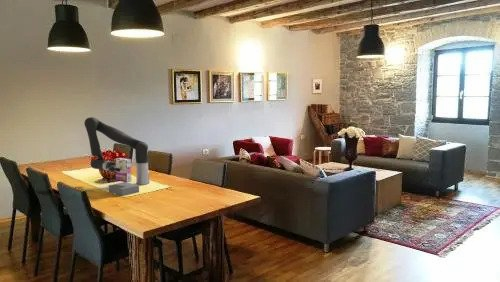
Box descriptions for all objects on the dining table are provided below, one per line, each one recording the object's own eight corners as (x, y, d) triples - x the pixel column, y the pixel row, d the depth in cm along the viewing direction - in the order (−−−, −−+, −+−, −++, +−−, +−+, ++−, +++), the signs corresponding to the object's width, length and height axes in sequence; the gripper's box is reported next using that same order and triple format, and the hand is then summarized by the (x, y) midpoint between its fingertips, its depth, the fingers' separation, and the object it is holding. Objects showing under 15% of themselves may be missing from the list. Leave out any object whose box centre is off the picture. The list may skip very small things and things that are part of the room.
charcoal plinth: (125, 188, 295) (125, 182, 295) (139, 192, 285) (138, 185, 284) (108, 192, 284) (108, 185, 284) (122, 196, 274) (122, 189, 273)
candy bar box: (131, 181, 283) (131, 159, 281) (126, 182, 279) (126, 160, 277) (120, 179, 288) (120, 157, 286) (115, 180, 284) (115, 158, 282)
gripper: (101, 162, 286) (114, 165, 276) (118, 160, 298) (131, 163, 288) (101, 172, 287) (114, 176, 277) (118, 169, 299) (131, 173, 289)
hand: (123, 169), depth 282 cm, fingers closed on candy bar box, 5 cm apart
